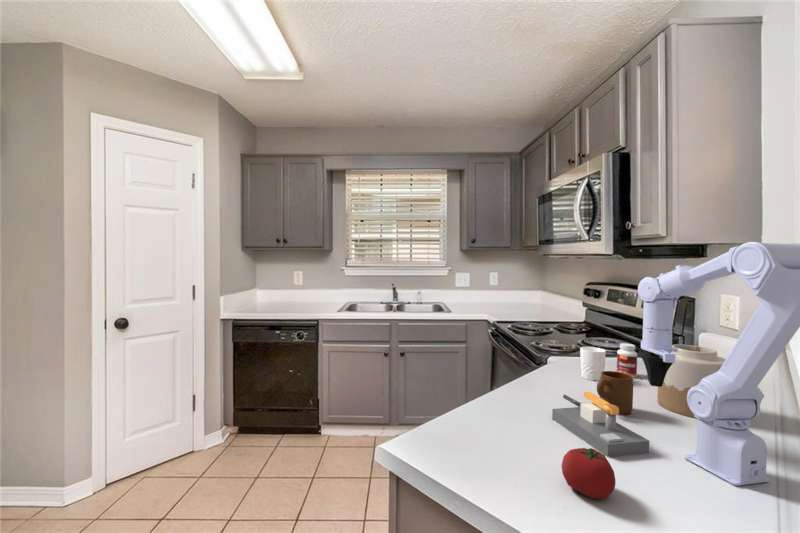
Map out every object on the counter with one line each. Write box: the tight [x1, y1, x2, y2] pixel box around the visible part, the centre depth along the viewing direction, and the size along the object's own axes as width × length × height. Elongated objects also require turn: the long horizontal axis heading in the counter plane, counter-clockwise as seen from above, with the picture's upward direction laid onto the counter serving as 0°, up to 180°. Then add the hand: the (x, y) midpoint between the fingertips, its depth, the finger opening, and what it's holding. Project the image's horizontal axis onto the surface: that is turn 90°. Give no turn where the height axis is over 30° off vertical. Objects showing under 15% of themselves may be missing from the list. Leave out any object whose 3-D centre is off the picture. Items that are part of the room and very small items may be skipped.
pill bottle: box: [615, 342, 638, 378], centre depth 129 cm, size 6×6×11 cm
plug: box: [562, 394, 606, 423], centre depth 89 cm, size 12×4×3 cm, turn 12°
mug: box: [596, 370, 634, 416], centre depth 96 cm, size 12×8×9 cm, turn 120°
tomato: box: [561, 447, 617, 500], centre depth 61 cm, size 8×8×7 cm
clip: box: [583, 391, 620, 416], centre depth 83 cm, size 10×3×1 cm, turn 4°
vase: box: [657, 344, 726, 419], centre depth 99 cm, size 15×15×17 cm
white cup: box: [579, 346, 607, 382], centre depth 125 cm, size 8×8×10 cm
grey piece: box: [551, 406, 650, 458], centre depth 82 cm, size 18×10×6 cm, turn 12°
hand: (655, 385), depth 85 cm, fingers closed
